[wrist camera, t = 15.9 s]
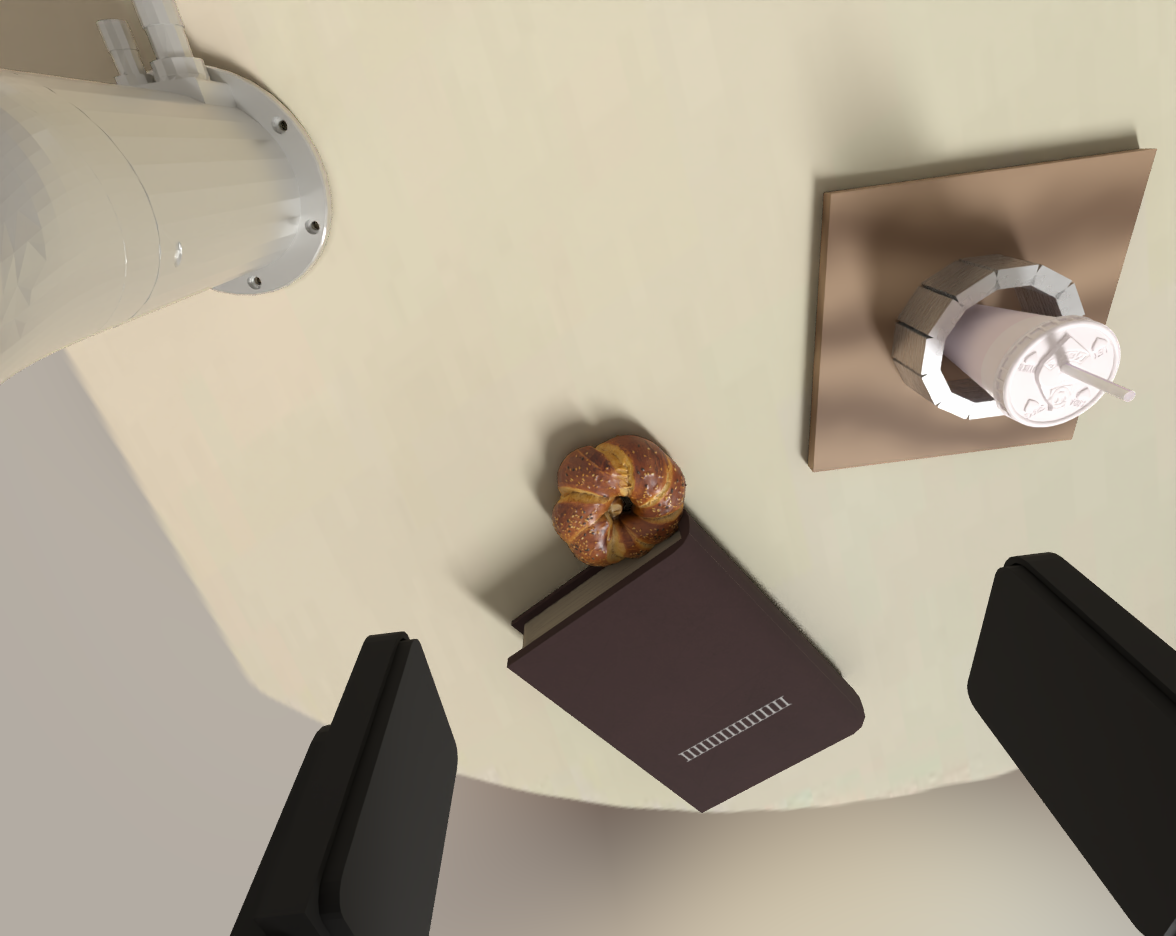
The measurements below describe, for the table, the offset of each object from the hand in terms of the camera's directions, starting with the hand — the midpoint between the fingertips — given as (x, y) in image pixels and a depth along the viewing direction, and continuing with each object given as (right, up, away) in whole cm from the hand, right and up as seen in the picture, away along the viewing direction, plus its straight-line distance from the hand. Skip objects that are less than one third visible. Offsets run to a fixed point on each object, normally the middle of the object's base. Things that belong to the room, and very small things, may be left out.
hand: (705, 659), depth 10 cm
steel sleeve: (+24, +13, +32) cm, 42 cm away
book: (+8, -14, +48) cm, 50 cm away
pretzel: (0, +1, +39) cm, 39 cm away
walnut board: (+24, +13, +33) cm, 43 cm away
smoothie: (+24, +13, +32) cm, 42 cm away
